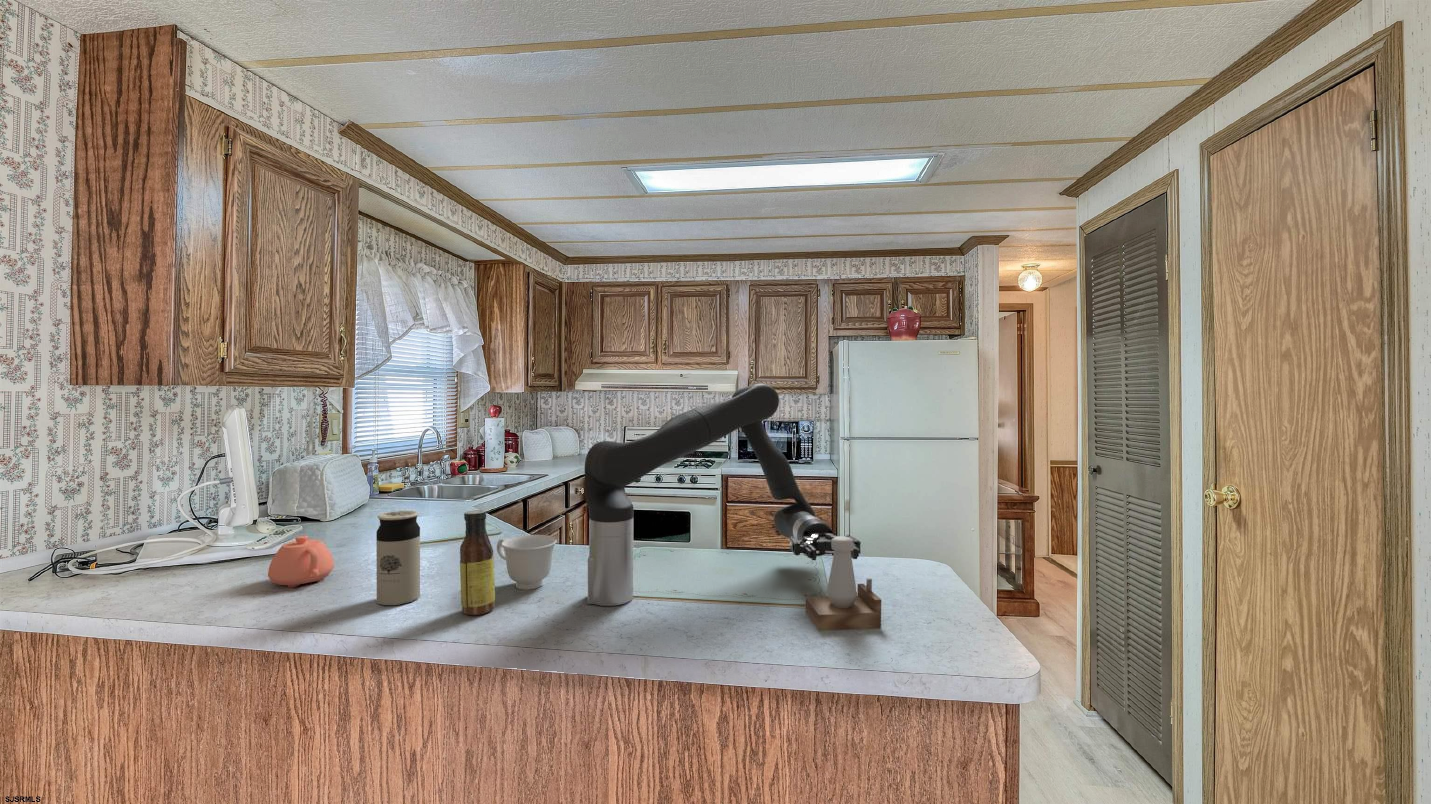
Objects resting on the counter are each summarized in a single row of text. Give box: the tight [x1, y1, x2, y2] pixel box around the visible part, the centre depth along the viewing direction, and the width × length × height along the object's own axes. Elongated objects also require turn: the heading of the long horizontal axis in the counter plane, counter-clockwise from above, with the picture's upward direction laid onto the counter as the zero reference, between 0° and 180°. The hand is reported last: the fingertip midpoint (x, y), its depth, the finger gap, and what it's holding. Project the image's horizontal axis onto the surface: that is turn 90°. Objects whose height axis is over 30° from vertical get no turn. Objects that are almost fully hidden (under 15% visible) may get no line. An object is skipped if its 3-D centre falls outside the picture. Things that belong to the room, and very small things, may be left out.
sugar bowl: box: [267, 535, 335, 588], centre depth 131 cm, size 12×14×10 cm
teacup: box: [496, 534, 558, 590], centre depth 130 cm, size 12×15×10 cm
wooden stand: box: [804, 577, 882, 632], centre depth 112 cm, size 12×9×8 cm
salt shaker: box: [826, 535, 857, 608], centre depth 112 cm, size 6×6×13 cm
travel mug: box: [375, 509, 421, 606], centre depth 120 cm, size 8×8×18 cm
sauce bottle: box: [459, 509, 496, 616], centre depth 115 cm, size 7×6×20 cm
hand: (835, 554), depth 116 cm, fingers open, 8 cm apart
